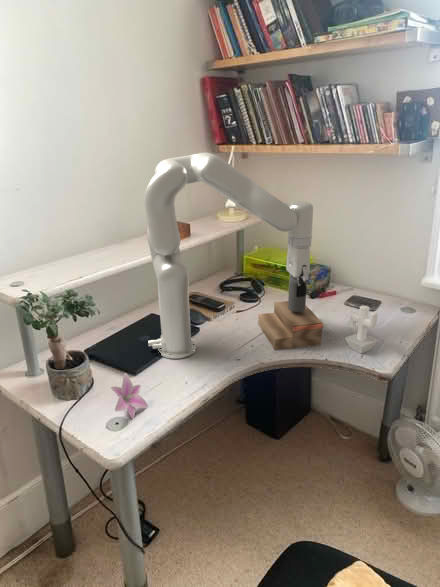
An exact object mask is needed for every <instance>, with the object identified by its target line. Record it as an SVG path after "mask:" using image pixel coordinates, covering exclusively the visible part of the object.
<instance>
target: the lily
mask: <svg viewBox="0 0 440 587" xmlns="http://www.w3.org/2000/svg"><path fill="white" fill-rule="evenodd" d="M122 377H123V378H122V384H121V386H110V389H111V391H112V392H113V393H114V394H115V395H116V396H117V397H118V400H117V401H116V405H115V408H114V411H115V412H122V411H124V410H127V412H128V414H129V416H130V418H131V419H132V420H134V419H135V414H136V408H137V409H139V408H141V409H143V408H144V409H146V408H149V404H148V403H147V401H146V400H145V399H144V398H143V396H142V395H139V394H140V392H141V387H142V385H141V384H135V385H133V382H132V380H131V379H130V377H129V375H128V374H127V373H126V372H124V373H123V376H122Z"/></svg>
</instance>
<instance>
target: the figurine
mask: <svg viewBox="0 0 440 587" xmlns="http://www.w3.org/2000/svg"><path fill="white" fill-rule="evenodd" d="M369 313H370V307H369V306H367V305H360V306H359V311H358V313H357V312H352V313H351V314H350V318H349V328H350V329H355V328H357V333H354V334H352V335H348V336H346V337H344V339H345V341H346V342H347V345H348V346H349V348H350V350H353V351H355V352H357V353H358V354H360V355H361V354H364V353H367V352H368V351H371V349H372V348H373V347H374V346H375V345H376V343H377V342H378V341H379V340H378V339H376V338H374V337H372V336H369V335H368V334H367V330H368V329H371V330H374V329H375V328H376V326H377V322H378V313H377V312H375V311H373V312H372V313H370V318H369ZM356 326H357V327H356Z"/></svg>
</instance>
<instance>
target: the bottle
mask: <svg viewBox="0 0 440 587" xmlns="http://www.w3.org/2000/svg"><path fill="white" fill-rule="evenodd" d="M290 275H291V274H290V273H289V276H290ZM291 276H292V275H291ZM300 276H303V275H302V274H301V275H300ZM301 280H303V278H300V281H301ZM296 285H298V283H297V278H295V277H293V276H292V277H291V278H290V277H289V280H288V299H287V301H288V309H289V310H290V311H293V312H302V311H304V310H305V305H306V306H307V304H306V303H307V295H306V296H304V297H297V296H296ZM307 285H308V284H307ZM307 285H306V288H307Z"/></svg>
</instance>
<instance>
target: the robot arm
mask: <svg viewBox="0 0 440 587" xmlns="http://www.w3.org/2000/svg"><path fill="white" fill-rule="evenodd" d="M199 182H202V183H204V184H205V185H207V186H208V187H210V188H211V189H213V190H214V191H216V192H217V193H219V194H220V195H222V196H223V197H224V198H226V199H227V200H229V201H231V202H232V203H233V204H235V205H236V206H238V207H240V208H242V209H244V210H245V211H248V212H249V213H251V214H253V215H254V216H256V217H257V218H259V219H261V220H262V221H263V222H265V223H266V224H267V225H269V226H271V227H273V229H276V230H277V231H279V232H282V233H286V232H287V250H286V251H287V253H286V264H285V265H286V266H285V269H286V271H287V272H288V273H289V279H290V278H291V277H292V276H293V277H295V278H297V283H298V285H296V296H297V297H304V296H306V297H307V287H306V285H308V284H307V283H308V281H309V276H310V269H311V268H310V266H311V265H310V264H311V259H310V258H311V257H310V256H311V255H310V254H311V253H310V247H312V239H313V238H312V237H313V235H312V234H313V219H314V218H313V216H314V205H313V204H312V203H311V202H308V201H295V202H283V201H282V200H281V199H279V198H277V197H276V196H274V195H273V194H272V193H270V192H268V191H267V190H266V189H265V188H263V187H262V186H261V185H260V184H258V183H257V182H256V181H254V180H253V179H251V178H250V177H248V176H247V175H245V174H244V173H243V172H241V171H240V170H238V169H237V168H236V167H234V166H233V165H231V164H230V163H228V162H227V161H225V159H222V158H221V157H220V156H218V155H216V154H213V153H210V152H200V153H194V154H190V155H189V154H188V155H183V156H182V155H181V156H177V157H169V158H166V159H163V160H161V161H160V162H159V163H158V164H157V165H156V166H155V170H154V176H153V177H152V178H151V179H150V181H149V183H147V187H146V189H145V193H144V198H143V199H144V200H143V201H144V208H145V214H146V215H145V216H146V222H147V230H146V235H147V236H146V238H147V242H148V248H149V253H150V257H151V261H152V265H153V269H154V272H155V276H156V280H157V295H158V309H159V317H160V320H159V321H160V329H161V330H160V331H161V335H160V338H159V337H158V338H157V339H151V340H149V339H148V340H147V341H148V343H147V344H148V347H151V348H152V349H157V350H158V351H159V352H160V353H161V355H160V356H162V357H164V358H167V359H173V360H175V359H183V358H187V357H190V356H191V355H193V354H195V352H196V351H197V344H196V342H195V341H194V340H192V330H191V329H192V328H191V315H190V313H191V312H190V311H191V310H190V295H189V292H190V291H189V290H190V289H189V287H190V286H189V285H190V276H189V271H188V268H187V266H186V265H187V264H185V262H184V261H183V259H182V254H181V249H180V246H181V234H180V230H179V227H178V226H179V225H178V221H177V220H178V219H177V216H176V209H175V202H176V201H175V200H176V198H177V195H178V194H179V193H180V192H181V191H182V190H183V189H184V188H185V186H186V185H189V184H195V183H199ZM290 274H291V275H292V276H291V275H290ZM301 274H302V275H303V276H300V275H301ZM300 278H303V280H301V281H300ZM160 348H161V349H160ZM158 351H157V352H158ZM159 352H158V353H159Z"/></svg>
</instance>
